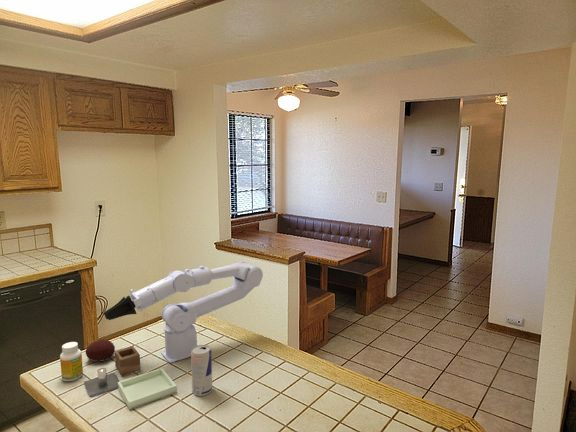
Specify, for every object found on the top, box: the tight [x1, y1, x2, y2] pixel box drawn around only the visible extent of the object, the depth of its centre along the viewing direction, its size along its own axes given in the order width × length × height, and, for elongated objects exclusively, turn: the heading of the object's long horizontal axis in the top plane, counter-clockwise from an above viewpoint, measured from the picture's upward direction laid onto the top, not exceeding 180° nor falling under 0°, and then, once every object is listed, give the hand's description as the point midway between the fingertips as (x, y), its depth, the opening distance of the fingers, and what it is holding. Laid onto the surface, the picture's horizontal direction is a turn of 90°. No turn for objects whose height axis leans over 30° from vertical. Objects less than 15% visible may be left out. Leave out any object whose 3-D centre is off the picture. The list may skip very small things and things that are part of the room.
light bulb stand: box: [83, 367, 120, 398], centre depth 108 cm, size 8×8×5 cm
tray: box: [117, 367, 178, 411], centre depth 106 cm, size 12×11×2 cm
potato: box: [84, 339, 116, 362], centre depth 122 cm, size 7×8×6 cm
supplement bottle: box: [59, 341, 84, 382], centre depth 112 cm, size 5×5×10 cm
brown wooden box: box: [114, 345, 142, 377], centre depth 117 cm, size 7×5×5 cm
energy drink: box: [190, 344, 213, 397], centre depth 105 cm, size 5×5×12 cm
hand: (106, 316), depth 111 cm, fingers open, 7 cm apart
